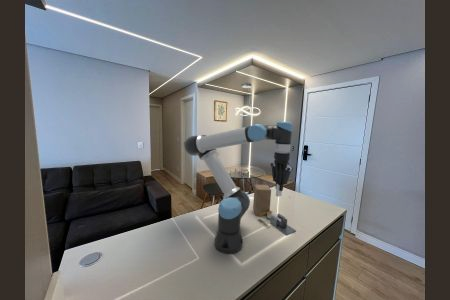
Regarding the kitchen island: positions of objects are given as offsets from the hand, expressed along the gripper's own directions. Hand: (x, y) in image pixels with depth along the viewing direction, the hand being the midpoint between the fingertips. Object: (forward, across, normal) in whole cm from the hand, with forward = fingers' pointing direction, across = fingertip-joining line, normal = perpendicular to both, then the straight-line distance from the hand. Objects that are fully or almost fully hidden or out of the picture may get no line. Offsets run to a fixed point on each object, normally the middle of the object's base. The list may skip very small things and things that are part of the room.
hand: (278, 195), depth 89 cm
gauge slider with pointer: (+25, +13, -10) cm, 30 cm away
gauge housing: (+26, +11, -11) cm, 31 cm away
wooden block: (+27, +27, -14) cm, 41 cm away
